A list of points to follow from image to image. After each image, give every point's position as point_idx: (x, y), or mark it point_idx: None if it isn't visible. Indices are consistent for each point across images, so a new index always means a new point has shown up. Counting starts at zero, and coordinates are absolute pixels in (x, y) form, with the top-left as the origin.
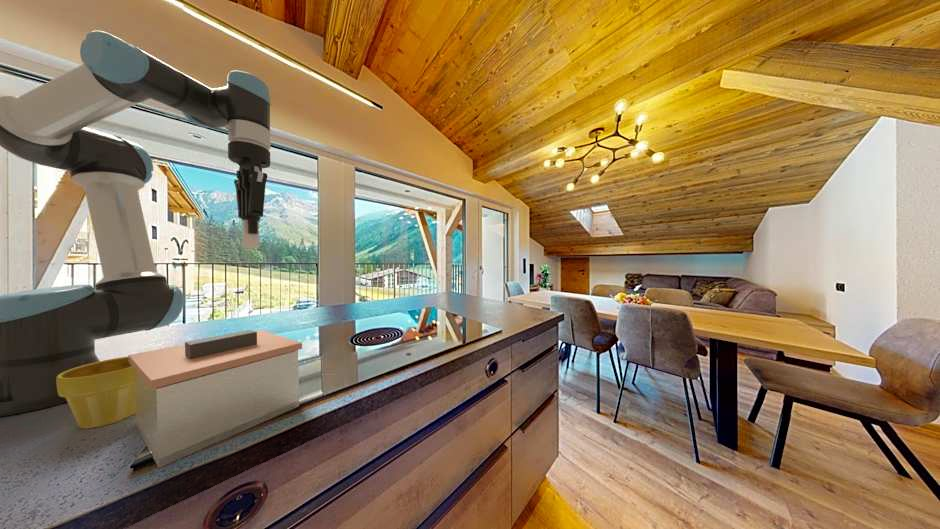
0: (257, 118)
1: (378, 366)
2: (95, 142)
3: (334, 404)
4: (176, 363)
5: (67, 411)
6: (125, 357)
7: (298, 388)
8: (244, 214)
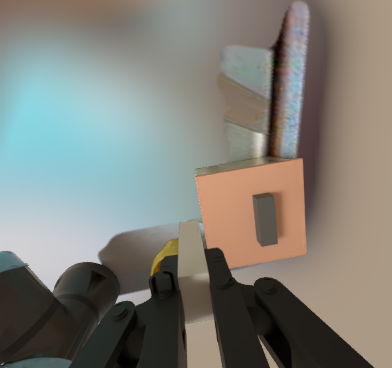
0: None
1: (249, 59)
2: None
3: (290, 134)
4: (276, 244)
5: (138, 272)
6: (153, 270)
7: (276, 157)
8: (184, 343)
